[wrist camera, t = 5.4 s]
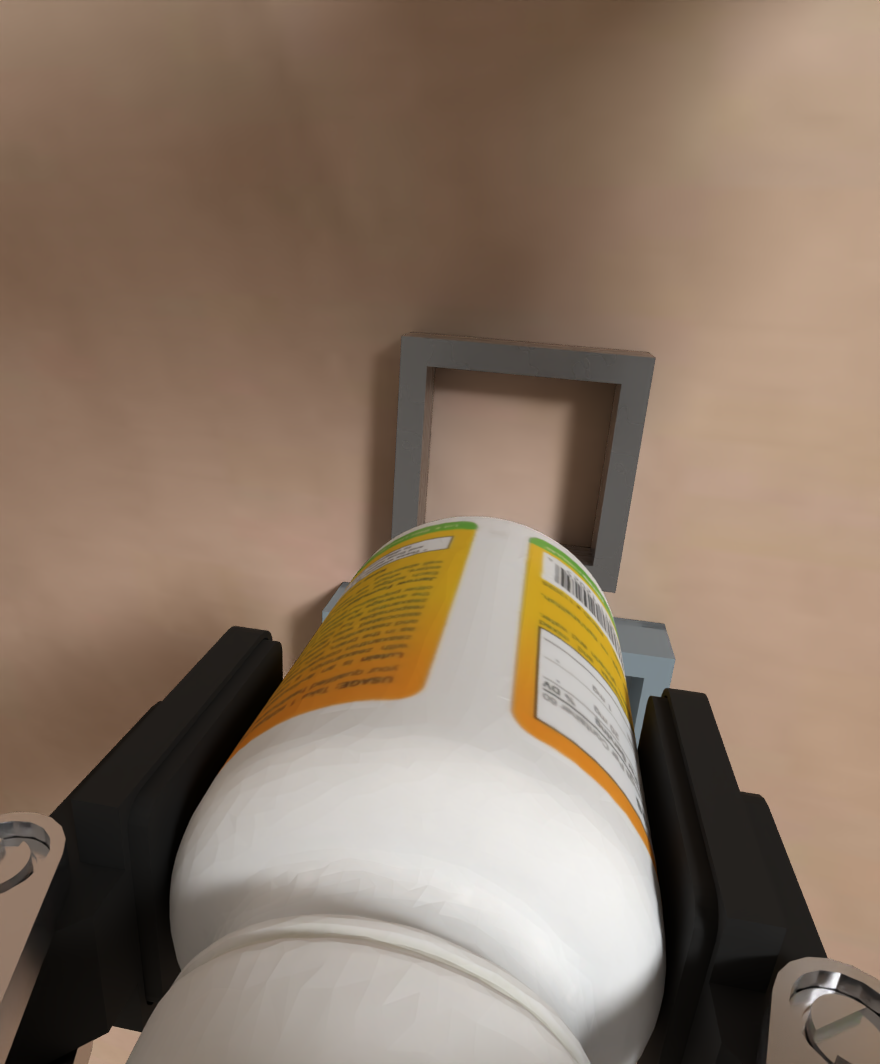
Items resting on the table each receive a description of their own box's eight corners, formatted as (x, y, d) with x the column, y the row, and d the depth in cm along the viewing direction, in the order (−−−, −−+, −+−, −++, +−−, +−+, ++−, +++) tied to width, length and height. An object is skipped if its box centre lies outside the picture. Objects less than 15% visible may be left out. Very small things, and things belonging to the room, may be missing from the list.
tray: (342, 581, 32) (322, 611, 29) (664, 624, 30) (675, 659, 27) (337, 782, 35) (319, 825, 33) (622, 829, 34) (628, 879, 31)
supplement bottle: (326, 715, 15) (-22, 1359, 6) (369, 477, 13) (-48, 905, 4) (574, 784, 15) (596, 1588, 6) (656, 550, 13) (882, 1198, 4)
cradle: (412, 331, 28) (401, 335, 26) (648, 352, 26) (655, 357, 25) (400, 547, 31) (390, 564, 29) (611, 573, 30) (615, 592, 28)
